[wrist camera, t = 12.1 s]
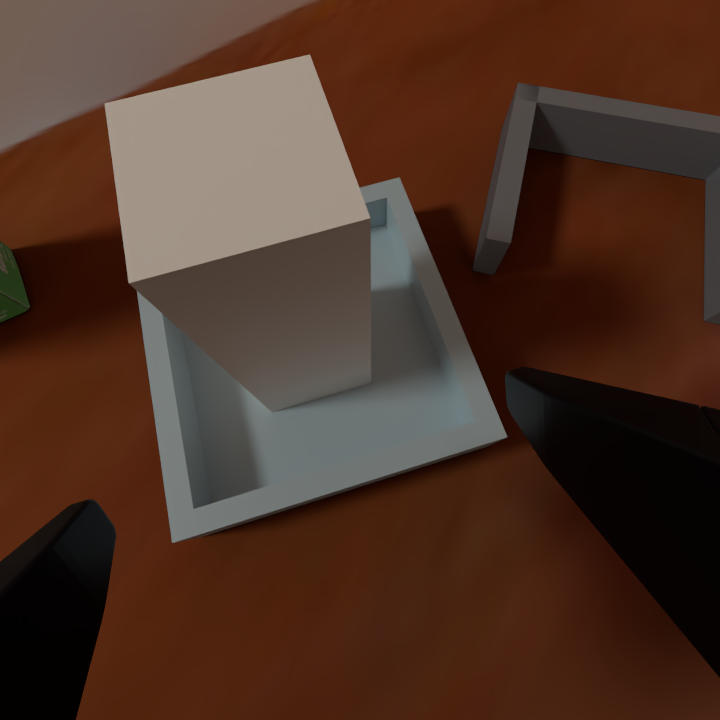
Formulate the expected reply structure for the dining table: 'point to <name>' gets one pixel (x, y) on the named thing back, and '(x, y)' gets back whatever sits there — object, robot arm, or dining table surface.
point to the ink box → (11, 286)
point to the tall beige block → (249, 227)
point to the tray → (322, 399)
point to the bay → (604, 143)
